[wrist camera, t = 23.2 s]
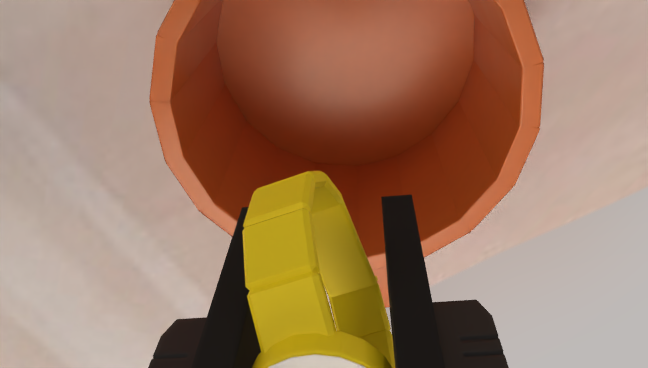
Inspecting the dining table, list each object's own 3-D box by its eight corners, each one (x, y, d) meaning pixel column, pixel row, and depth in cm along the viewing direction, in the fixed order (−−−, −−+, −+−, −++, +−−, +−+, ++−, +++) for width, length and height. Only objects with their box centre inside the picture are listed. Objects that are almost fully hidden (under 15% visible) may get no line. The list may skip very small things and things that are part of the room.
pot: (241, 222, 36) (209, 329, 27) (162, -155, 27) (78, -166, 18) (485, 202, 35) (529, 308, 26) (491, -199, 25) (563, -233, 17)
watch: (418, 309, 17) (449, 510, 11) (326, 334, 17) (315, 536, 12) (342, 123, 14) (336, 270, 9) (238, 159, 15) (175, 318, 9)
